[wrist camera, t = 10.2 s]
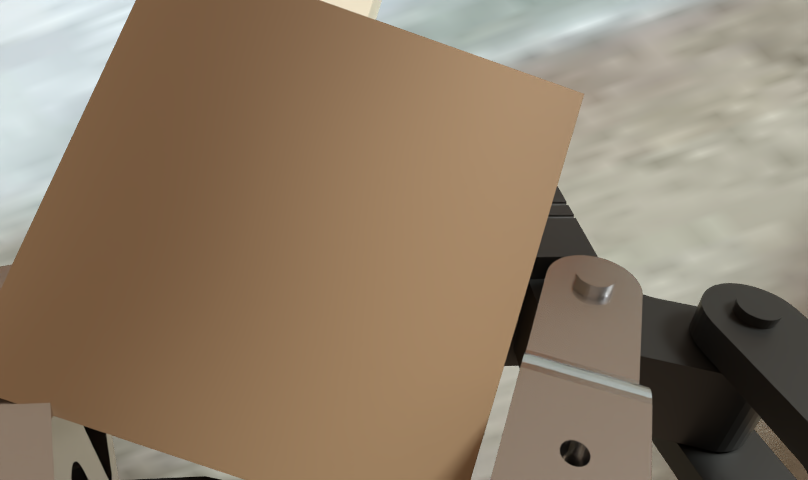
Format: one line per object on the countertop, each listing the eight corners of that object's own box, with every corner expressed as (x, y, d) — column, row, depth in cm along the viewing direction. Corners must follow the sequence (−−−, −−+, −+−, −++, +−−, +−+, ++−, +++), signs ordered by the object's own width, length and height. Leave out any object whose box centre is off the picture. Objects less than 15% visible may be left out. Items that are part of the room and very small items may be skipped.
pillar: (441, 244, 16) (584, 94, 6) (388, 405, 15) (450, 547, 5) (285, 190, 16) (162, -57, 6) (223, 350, 15) (-44, 384, 5)
